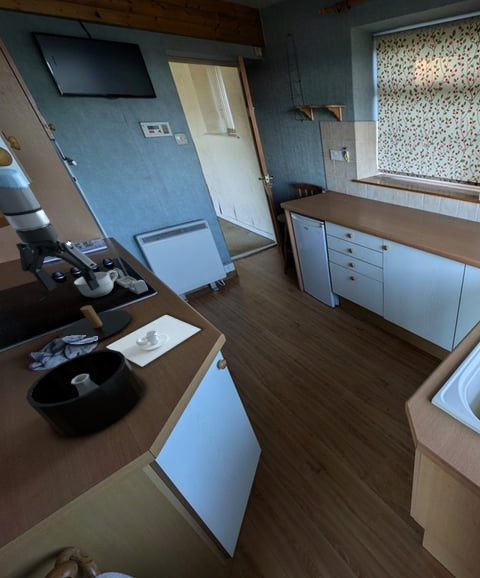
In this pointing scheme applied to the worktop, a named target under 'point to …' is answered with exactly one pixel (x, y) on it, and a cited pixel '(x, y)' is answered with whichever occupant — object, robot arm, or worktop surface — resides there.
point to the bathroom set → (129, 282)
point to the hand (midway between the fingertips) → (74, 288)
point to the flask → (83, 384)
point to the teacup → (102, 280)
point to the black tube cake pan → (93, 405)
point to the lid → (99, 323)
